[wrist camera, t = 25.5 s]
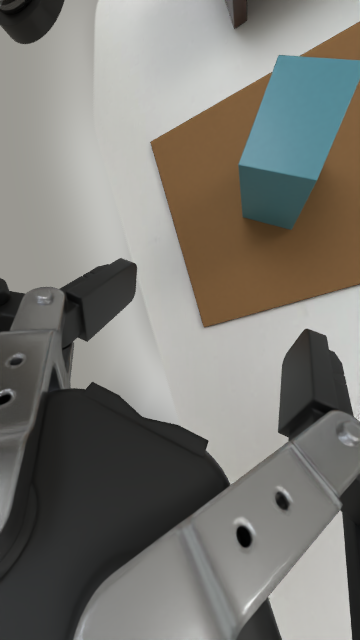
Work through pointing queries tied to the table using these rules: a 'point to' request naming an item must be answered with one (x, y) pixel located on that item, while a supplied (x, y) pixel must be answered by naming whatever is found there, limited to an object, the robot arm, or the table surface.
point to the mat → (253, 236)
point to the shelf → (237, 11)
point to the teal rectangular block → (293, 135)
